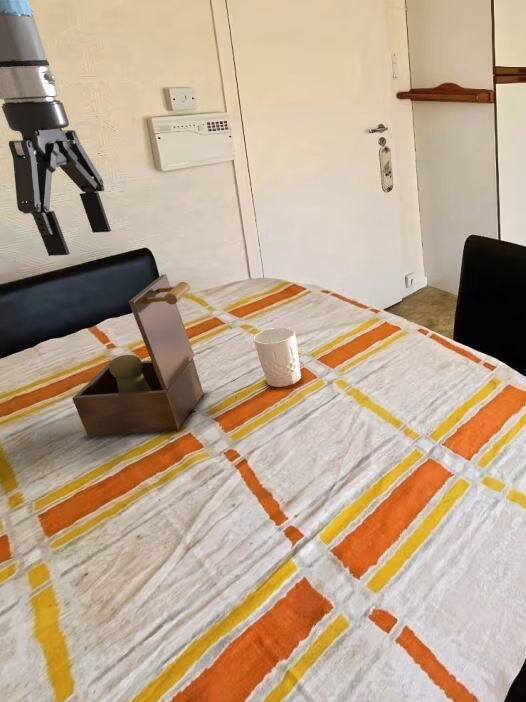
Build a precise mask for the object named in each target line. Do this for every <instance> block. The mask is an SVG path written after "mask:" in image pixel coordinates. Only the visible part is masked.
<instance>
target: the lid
mask: <svg viewBox="0 0 526 702" xmlns="http://www.w3.org/2000/svg"><path fill="white" fill-rule="evenodd" d="M190 290H191V288H190V285H189V284H188V283H187V282H185V281H180V282H178V283H177V284H176V285H174V286H171V284H170V280H169V278H168V276H167V274H166V273H165V274H161V275H160V276H158V277H157V278H156V279H155V280H153V281H152V282H151V283H149V284H148V286H146V287H145V288H144V289H142V290H141V291H140V292H139V293H137V294H136V295H135V296H134V297H132V298H131V299H130V300H129V301H128V304H129V307H130V309H131V312H132V315H133V318H134V319H135V322H136V325H137V328H138V331H139V333H140V335H141V337H142V340H143V343H144V345H145V349H146V350H147V353H148V356H149V358H150V361H152V364H153V366H154V369H155V371H156V374H157V377H158V379H159V382H160V384H161V387H162V389H163V390H167V389H168V388H169V386H170V385H171V384H172V383H173V382H174V380H175V379H176V378H177V377H178V375H179V374H180V373H181V372H182V370H183V369H184V368H185V367H186V366H187V364H188V363H189V362H190V361H191V359H192V358H193V359H194V357H195V353H194V350H193V347H192V345H191V341H190V339H189V336H188V333H187V331H186V327H185V325H184V322H183V318H182V316H181V313H180V310H179V307H178V302H179V301H180V300H182V298H183V297H185V295H186V294H187V293H189V291H190Z"/></svg>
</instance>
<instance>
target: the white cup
mask: <svg viewBox="0 0 526 702" xmlns="http://www.w3.org/2000/svg"><path fill="white" fill-rule="evenodd" d="M253 343H254V346H255V350H256V353H257V357H258V360H259V363H260V366H261V369H262V372H263V373H264V377H265V381H266V384H267V385H268V386H270V387H275V388H282V387H288V386H291V385H294V384H296V383H297V382H299V381H300V379H301V378H302V374H301V368H300V365H301V364H300V356H299V350H298V349H299V348H298V344H297V336H296V332H295V330H294V329H292V328H290V327H285V326H284V327H283V326H281V327H280V326H279V327H271V328H267V329H264V330H261V331H258V332H257V333H255V335H253Z"/></svg>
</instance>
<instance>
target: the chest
mask: <svg viewBox="0 0 526 702" xmlns="http://www.w3.org/2000/svg"><path fill="white" fill-rule="evenodd" d="M141 361H142V366H143V368H142V371H141V372H142V374H143V376H144V377H145V379H146V381H147V383H148V385H149V387H150V389H151V391H145V392H130V393H119V390H118V385H117V380H116V378H115V377H114V376H113V375H112V374H111V373H110V370H109V364H110V362H109V363H107V365H106V366H105V367H104V368H103V369H101V371H99V373H97V374H96V375H95V376H94V377H93V378H92V379H90V381H89V382H88V383H86V385H84V386H83V387H82V389H80V390H79V391H78V392H77V393H76V394H75V395H74V396H73V397H72V398H71V400H72V402H73V404H74V406H75V409H76V411H77V413H78V416H79V419H80V421H81V424H82V426H83V428H84V430H85V433H86V435H87V437H95V436H108V435H109V436H110V435H123V434H136V433H137V434H138V433H139V434H140V433H152V432H166V431H167V432H169V431H178V430H179V429H180V428H181V427H182V425H183V424H184V422H185V421H186V419H187V418H188V417H189V415H190V413H191V412H192V410H193V409H195V406H196V405H197V403H198V402H199V400H200V399H201V398H202V396H203V395H204V389H203V387H202V384H201V380H200V377H199V373H198V369H197V367H196V363H195V360H194V357H193V358H192V359H191V361H190V362H189V363H188V364H187V366H186V367H185V368H184V369H183V370H182V372H181V373H180V374H179V375H178V377H177V378H176V379H175V380H174V382H173V383H172V384H171V385H170V386H169V388H168V389H167V390H163V389H162V387H161V384H160V382H159V379H158V377H157V374H156V371H155V369H154V366H153V364H152V361H151V360H141Z"/></svg>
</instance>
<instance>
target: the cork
mask: <svg viewBox="0 0 526 702" xmlns="http://www.w3.org/2000/svg"><path fill="white" fill-rule="evenodd" d="M142 361H143V360H141V358H140V357H139V356H137V355H135V354H123V355H119V356H116V357H114V358H113V359H111V360H110V361H109V363H110V364H109V363H108V364H109V370H110V373H111V374H112V375H113V376H114V377H115V378H116V380H117V385H118V390H119V393H130V392H145V391H151V389H150V387H149V385H148V383H147V381H146V379H145V377H144V376H143V374H142V372H141V371H142V368H143V366H142Z"/></svg>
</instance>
